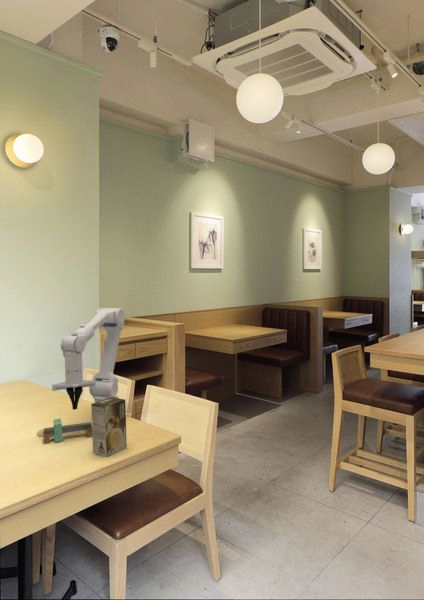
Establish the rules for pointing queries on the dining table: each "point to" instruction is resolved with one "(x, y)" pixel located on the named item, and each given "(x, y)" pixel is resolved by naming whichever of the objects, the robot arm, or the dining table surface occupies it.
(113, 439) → the coffee box
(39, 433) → the coaster
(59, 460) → the dining table surface
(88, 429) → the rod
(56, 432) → the green rectangular loop
